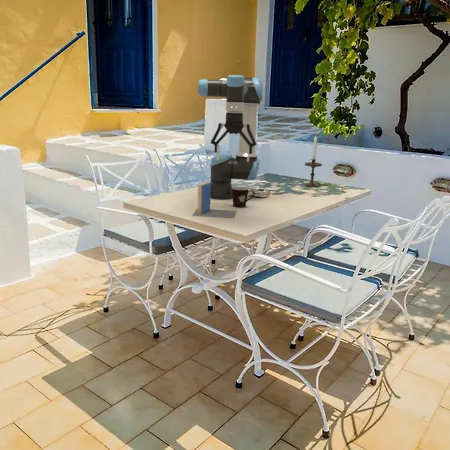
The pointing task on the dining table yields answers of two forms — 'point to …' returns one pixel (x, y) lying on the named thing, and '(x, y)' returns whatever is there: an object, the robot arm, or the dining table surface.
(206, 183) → the tile
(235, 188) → the coffee mug
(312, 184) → the candlestick
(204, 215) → the mat
